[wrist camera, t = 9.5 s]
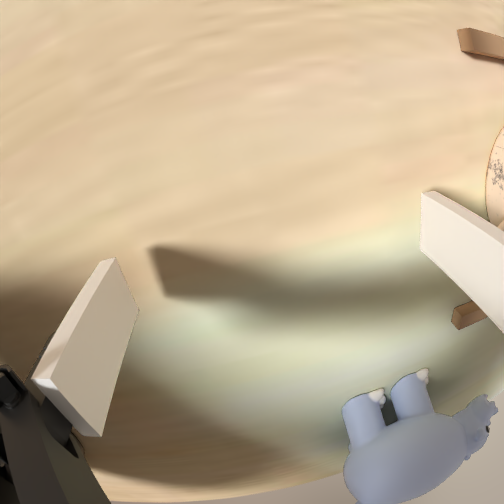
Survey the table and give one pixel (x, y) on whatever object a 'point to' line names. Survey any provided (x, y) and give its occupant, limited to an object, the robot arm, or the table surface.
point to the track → (498, 49)
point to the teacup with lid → (496, 183)
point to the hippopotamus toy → (408, 442)
